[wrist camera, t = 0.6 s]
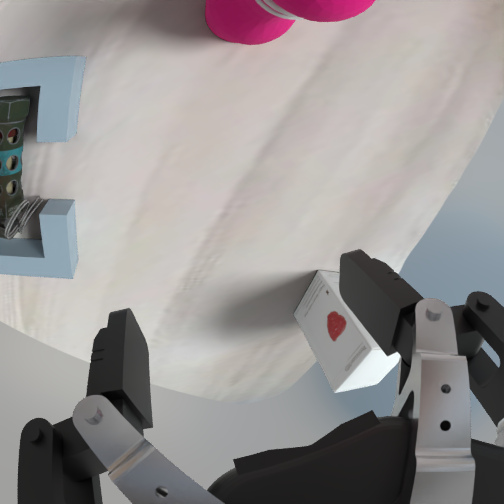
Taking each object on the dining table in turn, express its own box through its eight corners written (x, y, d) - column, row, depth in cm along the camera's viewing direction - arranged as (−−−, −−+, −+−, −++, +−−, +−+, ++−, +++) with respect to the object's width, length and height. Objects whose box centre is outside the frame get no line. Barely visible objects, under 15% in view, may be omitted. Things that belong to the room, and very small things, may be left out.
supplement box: (317, 267, 42) (373, 348, 30) (361, 274, 46) (416, 342, 34) (291, 315, 46) (332, 394, 34) (334, 316, 50) (378, 385, 38)
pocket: (-30, 69, 15) (-47, 73, 12) (86, 57, 20) (76, 55, 17) (-17, 254, 26) (-28, 271, 23) (78, 259, 31) (72, 278, 28)
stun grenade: (5, 94, 19) (2, 218, 25) (-30, 104, 14) (-24, 247, 20) (54, 96, 21) (45, 225, 27) (23, 104, 16) (22, 258, 22)
